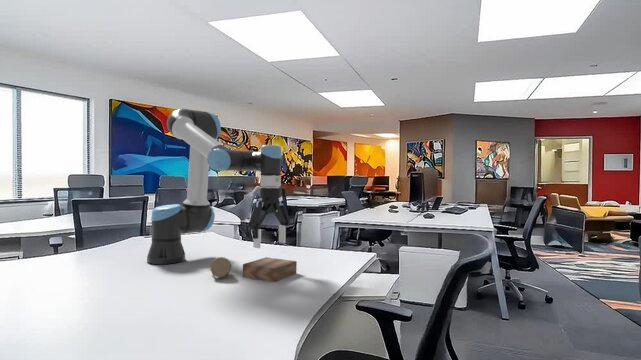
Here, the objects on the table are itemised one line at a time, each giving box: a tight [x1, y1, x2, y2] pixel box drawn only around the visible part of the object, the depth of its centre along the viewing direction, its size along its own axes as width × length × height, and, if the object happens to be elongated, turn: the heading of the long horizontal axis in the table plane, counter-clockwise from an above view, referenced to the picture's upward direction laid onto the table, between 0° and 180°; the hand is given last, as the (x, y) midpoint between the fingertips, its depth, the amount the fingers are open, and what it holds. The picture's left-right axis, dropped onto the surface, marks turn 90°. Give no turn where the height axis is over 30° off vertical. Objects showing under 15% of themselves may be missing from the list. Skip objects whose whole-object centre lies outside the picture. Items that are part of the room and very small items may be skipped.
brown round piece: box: [209, 256, 232, 278], centre depth 141 cm, size 8×10×10 cm
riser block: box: [242, 256, 297, 283], centre depth 144 cm, size 14×14×5 cm
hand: (269, 245), depth 144 cm, fingers open, 13 cm apart
